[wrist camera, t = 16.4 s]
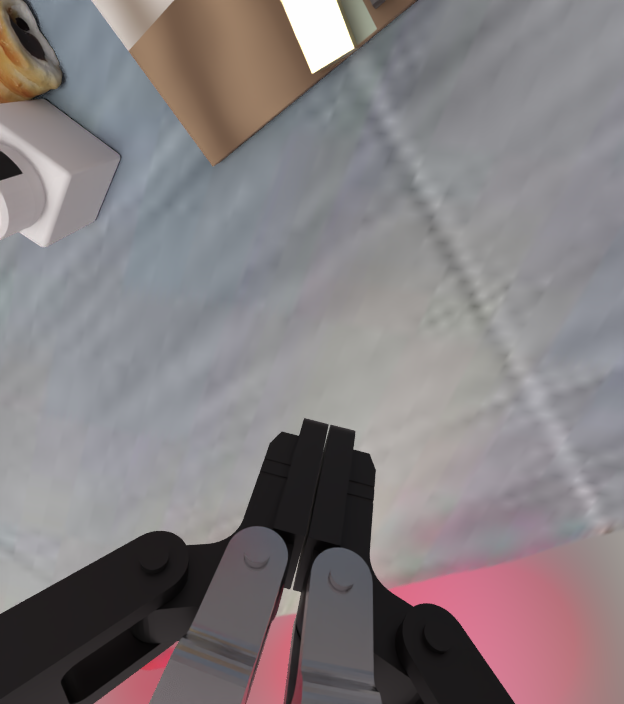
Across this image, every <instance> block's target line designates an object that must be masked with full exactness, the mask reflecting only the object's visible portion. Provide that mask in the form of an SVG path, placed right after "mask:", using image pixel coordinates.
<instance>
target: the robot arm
mask: <svg viewBox="0 0 624 704" xmlns="http://www.w3.org/2000/svg"><path fill="white" fill-rule="evenodd" d="M328 425H329V424H325V423H321V422H318V421H314V420H310V419H306V418H304V421H303V424H302V428H301V431H300V435H299V436H297V435H293V434H289V433H285V432H281V433H280V434H279V435H278V436H277V437H276V438H275V439H274V440H273V441H272V442H271V443H270V445H269V447H268V450H267V453H266V456H265V459H264V462H263V464H262V467H261V470H260V474H259V476H258V479H257V482H256V484H255V487H254V490H253V493H252V496H251V499H250V502H249V504H248V507H247V510H246V513H245V516H244V519H243V521H242V523H241V525H240V526H239V528H238V529H237V530H236V531H235V533H233V534H232V535H231V536H229V537H228V538H226V539H224V540H222V541H220V542H216V543H211V544H200V545H186V544H185V543H184V541H183V540H182V539H181V538H180V537H179V536H177V535H175V534H173V533H171V532H167V531H154V532H150V533H146V534H144V535H142V536H140V537H138V538H136V539H134V540H133V541H131V542H129V543H127V544H125V545H124V546H122V547H120V548H118V549H116V550H115V551H113V552H111V553H109V554H107V555H106V556H104V557H102V558H100V559H98V560H97V561H95V562H93V563H91V564H89V565H88V566H86V567H84V568H82V569H80V570H79V571H77V572H75V573H73V574H71V575H70V576H68V577H66V578H64V579H63V580H61V581H59V582H57V583H55V584H54V585H52V586H50V587H48V588H46V589H45V590H43V591H41V592H39V593H37V594H36V595H34V596H32V597H30V598H28V599H27V600H25V601H23V602H21V603H19V604H18V605H16V606H14V607H12V608H10V609H9V610H7V611H5V612H3V613H1V614H0V704H94V703H95V702H96V701H97V700H99V699H100V698H102V697H103V696H104V695H106V694H107V693H108V692H110V691H111V690H112V689H114V688H115V687H116V686H118V685H119V684H120V683H122V682H123V681H125V680H126V679H127V678H129V677H130V676H131V675H133V674H134V673H135V672H137V671H138V670H139V669H141V668H142V667H143V666H145V665H146V664H147V663H149V662H150V661H151V660H153V659H154V658H155V657H157V656H158V655H159V654H161V653H162V652H164V651H165V650H166V649H168V648H169V647H170V646H172V645H173V644H174V643H175V642H176V641H179V642H178V644H177V646H176V647H175V649H174V651H173V653H172V655H171V657H170V659H169V662H168V664H167V666H166V668H165V670H164V672H163V675H162V677H161V679H160V681H159V683H158V685H157V688H156V690H155V692H154V694H153V696H152V699H151V700H150V703H149V704H246V703H247V700H248V697H249V693H250V690H251V687H252V683H253V680H254V677H255V674H256V671H257V668H258V665H259V661H260V658H261V655H262V652H263V649H264V645H265V642H266V639H267V636H268V633H269V629H270V626H271V623H272V621H273V620H274V618H275V616H276V614H277V611H278V607H279V604H280V600H281V596H282V592H283V589H284V588H287V589H290V588H291V585H292V581H293V578H294V574H295V571H296V567H297V564H298V568H297V573H296V577H295V582H294V587H293V590H296V591H299V592H301V596H300V601H299V606H298V611H297V615H296V618H295V621H294V625H293V633H292V641H291V648H290V657H289V664H288V672H287V680H286V688H285V697H284V704H515V703H514V702H513V700H512V699H511V697H510V696H509V694H508V693H507V691H506V690H505V688H504V687H503V685H502V684H501V683H500V681H499V680H498V678H497V677H496V675H495V674H494V673H493V671H492V670H491V668H490V667H489V665H488V664H487V663H486V661H485V659H484V658H483V657H482V655H481V654H480V652H479V651H478V650H477V648H476V646H475V645H474V644H473V642H472V641H471V639H470V638H469V636H468V635H467V633H466V632H465V631H464V629H463V628H462V626H461V625H460V623H459V622H458V621H457V620H456V619H455V617H453V615H451V614H450V613H449V612H448V611H447V610H445V609H443V608H441V607H440V606H437V605H434V604H427V603H426V604H419V605H416V606H414V607H413V606H411V605H410V604H408V603H407V602H405V601H404V600H402V599H400V598H399V597H397V596H396V595H394V594H393V593H391V592H390V591H389V590H387V589H386V588H385V587H384V586H383V585H382V584H381V582H380V581H379V580H378V579H377V577H376V575H375V574H374V571H373V569H372V566H371V563H370V541H371V527H372V513H373V500H374V486H375V473H376V469H375V467H374V464H373V462H372V459H371V456H370V454H368V453H364V452H361V451H357V450H353V447H354V439H355V431H354V430H350V429H346V428H342V427H338V426H334V425H330V428H329V432H328V436H327V439H326V435H327V430H328ZM325 440H326V443H325ZM324 444H325V447H324ZM323 449H324V450H323ZM300 553H301V554H300ZM299 556H300V558H299ZM298 560H299V563H298Z"/></svg>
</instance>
